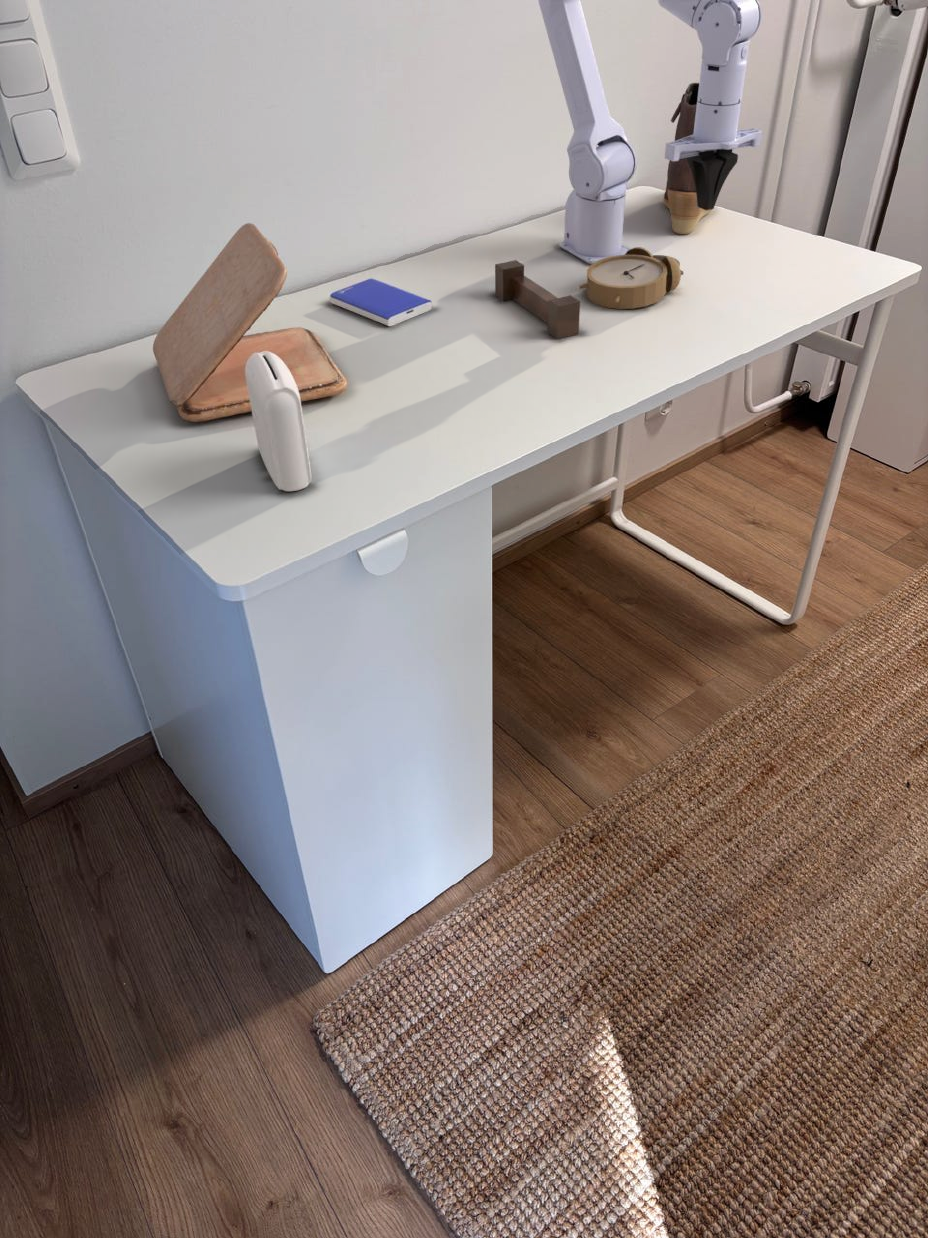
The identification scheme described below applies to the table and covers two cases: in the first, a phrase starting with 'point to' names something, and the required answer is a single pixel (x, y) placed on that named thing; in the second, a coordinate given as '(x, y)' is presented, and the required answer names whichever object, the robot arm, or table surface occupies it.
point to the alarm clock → (632, 279)
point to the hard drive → (380, 302)
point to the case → (236, 335)
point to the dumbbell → (537, 299)
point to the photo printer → (278, 421)
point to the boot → (683, 171)
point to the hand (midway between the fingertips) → (705, 207)
